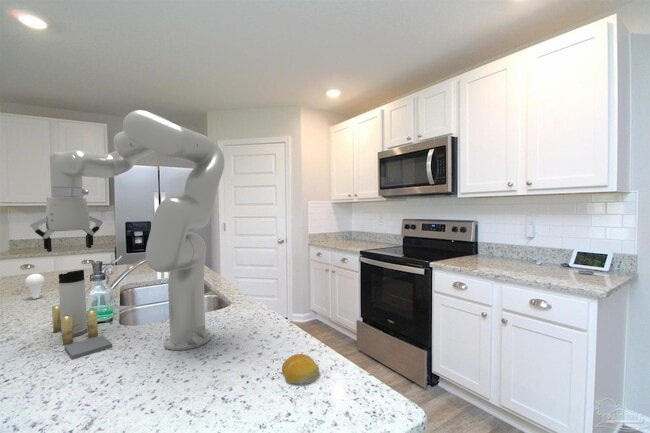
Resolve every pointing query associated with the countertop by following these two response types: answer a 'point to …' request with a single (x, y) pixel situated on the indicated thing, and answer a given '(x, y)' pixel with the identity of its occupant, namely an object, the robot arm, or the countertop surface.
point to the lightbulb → (35, 284)
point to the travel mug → (73, 300)
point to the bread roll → (300, 369)
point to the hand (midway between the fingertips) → (69, 249)
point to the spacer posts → (67, 324)
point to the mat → (87, 347)
